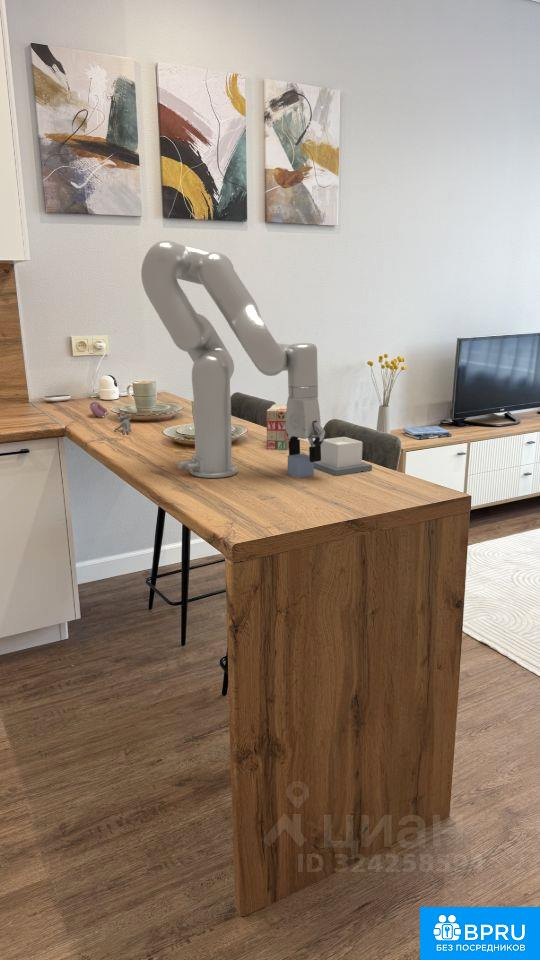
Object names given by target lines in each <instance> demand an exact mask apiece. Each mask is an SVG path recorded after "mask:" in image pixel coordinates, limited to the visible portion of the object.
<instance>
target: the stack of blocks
mask: <svg viewBox="0 0 540 960" xmlns="http://www.w3.org/2000/svg"><path fill="white" fill-rule="evenodd" d="M286 408H287V404H277V403H276V404H272V405H271V406H270V407H269V408H268V409H267V410H266V450H270V449H271V450H272V451H273V450H274V451H275V450H277V451H287V450H288V449H289V441H290V440H289V441H288V439H287V437H288V435H287V433H286V428H285V425H284V423H285V422H286Z"/></svg>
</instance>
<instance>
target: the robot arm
mask: <svg viewBox="0 0 540 960" xmlns="http://www.w3.org/2000/svg"><path fill="white" fill-rule="evenodd" d="M140 272H141V274H140V275H141V283H142V286H143V290H144V292H145V295H146V296H147V298H148V300H149V301H150V304H151V305H152V307H153V308H154V310H155V312H156V313H157V315H158V317H159V319H160V320H161V322H162V324H163V325H164V327H165V329H166V330H167V332H168V334H169V336H170V337H171V339H172V341H173V343H174V345H175V346H176V347H177V348H178V349H180V350H181V351H183V352H186V353H188V355H189V357H190V358H191V360H192V362H193V365H192V367H191V384H192V395H193V415H194V417H193V418H194V422H193V423H194V455H191V458H189V460H180V461H178V462H177V467H178V469H187V470H189V474H190V475H192V476H194V477H198V478H207V479H218V478H226V477H231V476H234V475H236V474H237V473H238V467H237V466H236V465H233V464H232V462H233V461H232V403H231V402H232V399H231V397H232V396H231V378H232V377H233V375H234V371H235V363H234V361H233V357H232V356H231V354H230V351H228V349H227V347H226V346H225V344H224V342H223V341H222V338H220V336H219V334H218V332H217V331H216V329H215V327H214V326H213V324H212V323H211V322H210V320H209V319H208V318H207V317H206V316H204V315H203V314H201V313H200V314H199V313H198V312H197V311H196V310H195V308H194V307H193V305H192V303H191V302H190V301H189V298H188V296H187V295H186V293H185V292H184V290H183V289H182V287H181V286H180V283H179V281H178V280H182V281H186V282H189V283H193V284H197V285H202V286H203V288H204V289H205V290H206V292H207V293H208V295H209V296H210V298H211V299H212V300H213V302H214V303H215V305H216V307H217V309H218V310H219V311H220V313H221V314H222V316H223V318H224V319H225V320H226V322H227V324H228V325H229V327H230V329H231V331H232V332H233V334H234V335H235V336H236V338H237V340H238V341H239V343H240V345H241V346H242V349H244V351H245V352H246V354H247V356H248V357H249V359H250V360H251V362H252V363H253V365H254V366H255V367H256V369H257V370H258V371H259V372H260V373H261V374H262V375H265V376H268V377H274V376H277V375H279V374H280V373H281V372H284V371H286V372H287V383H288V384H287V388H288V390H287V391H288V393H287V394H288V397H287V401H286V402H287V403H286V405H287V408H286V422H285V423H284V425H285V428H286V433H287V435H288V437H287V439H288V441H289V440H290V441H289V447H288V455H296V454H301V439H302V440H306V439H307V440H308V442H309V449H308V450H309V451H308V452H309V453H308V455H309V458H310V462H316V461H321V446H322V442H323V440H324V439H325V435H326V431H325V429H324V428H323V427H322V426H321V412H320V403H319V383H318V381H319V380H318V378H319V375H318V374H319V373H318V347H317V346H316V344H314V343H310V342H302V343H300V342H299V343H292V344H285V343H278V342H277V341H276V339H275V338H274V337H273V335H272V333H271V332H270V330H269V329H268V327H267V326H266V323H265V322H264V320H263V318H262V316H261V312H260V310H259V307H258V305H257V303H256V301H255V299H254V298H253V296H252V294H251V293H250V292H249V290H248V288H246V286H245V284H244V283H243V281H242V280H241V279H240V276H239V275H238V274H237V272H236V270H235V269H234V265H233V262H232V260H230V258H229V257H227V256H226V255H225V254H222V253H221V252H217V251H215V252H214V251H213V252H211V251H206V250H202V249H198V248H194V247H191V246H187V245H182V244H179V243H177V242H174V241H171V240H161V241H158V242H156V243H154V244H153V245H152V246H151V247H150V248H149V249H148V251H147V252H146V253H145V256H144V257H143V261H142V265H141V270H140Z"/></svg>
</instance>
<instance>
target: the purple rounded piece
mask: <svg viewBox="0 0 540 960" xmlns="http://www.w3.org/2000/svg"><path fill="white" fill-rule="evenodd" d="M89 410H90V411H91V413H92V414H93V415H94V417H96V416H98V417H97V418H100V417H102V416H105V417H106V415H105V414H104V413H105V412H108V410H107V409H106V408H105V407H103V406H102V405H101V404H100V403H99V402H98V401H93V402H90V405H89ZM108 413H109V412H108Z"/></svg>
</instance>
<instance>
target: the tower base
mask: <svg viewBox="0 0 540 960" xmlns="http://www.w3.org/2000/svg"><path fill="white" fill-rule="evenodd" d="M315 469H316V470H318V471H321V472H323V473H327V474H330V475H332V476H335V477H338V476H346V475H349V474H350V473H352V474H356V472H359V473H362V472H361V471H365V472H369V471H368V470H372V471H373V464H370V463H368V462H364V461H363V441H361V440H359V439H358V440H357V439H353V438H350V437H346V436H341V437H340V436H339V437H333V438H324V440H323V442H322V446H321V461H316V462H314V470H315ZM350 475H351V474H350Z"/></svg>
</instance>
